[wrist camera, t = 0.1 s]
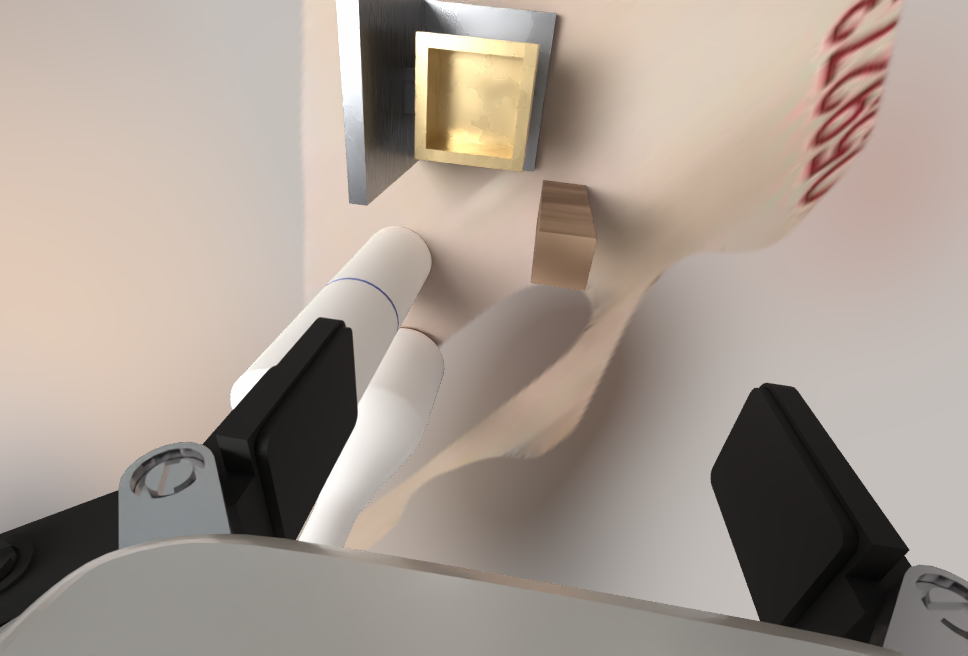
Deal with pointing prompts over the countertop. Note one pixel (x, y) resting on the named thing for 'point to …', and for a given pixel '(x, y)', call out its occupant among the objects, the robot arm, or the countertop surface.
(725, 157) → the countertop surface
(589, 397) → the countertop surface
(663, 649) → the robot arm
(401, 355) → the wine bottle
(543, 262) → the rail post
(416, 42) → the cup bracket
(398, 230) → the cylindrical container
